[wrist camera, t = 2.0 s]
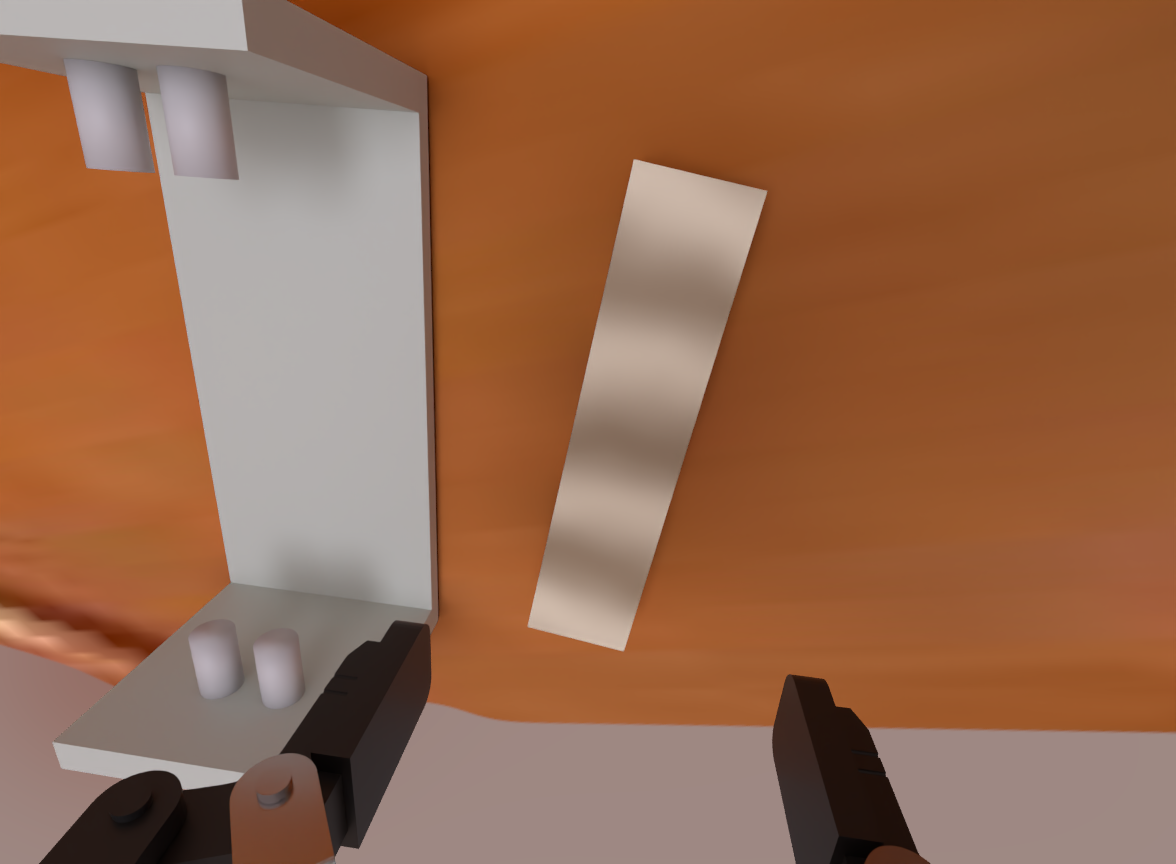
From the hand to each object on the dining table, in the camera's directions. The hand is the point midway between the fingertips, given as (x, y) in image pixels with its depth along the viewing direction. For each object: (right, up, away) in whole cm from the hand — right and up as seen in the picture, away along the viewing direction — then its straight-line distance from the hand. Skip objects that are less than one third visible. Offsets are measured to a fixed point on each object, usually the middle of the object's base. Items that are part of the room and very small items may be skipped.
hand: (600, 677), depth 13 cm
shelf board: (+2, +6, +16) cm, 18 cm away
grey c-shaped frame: (-14, +8, +17) cm, 24 cm away
